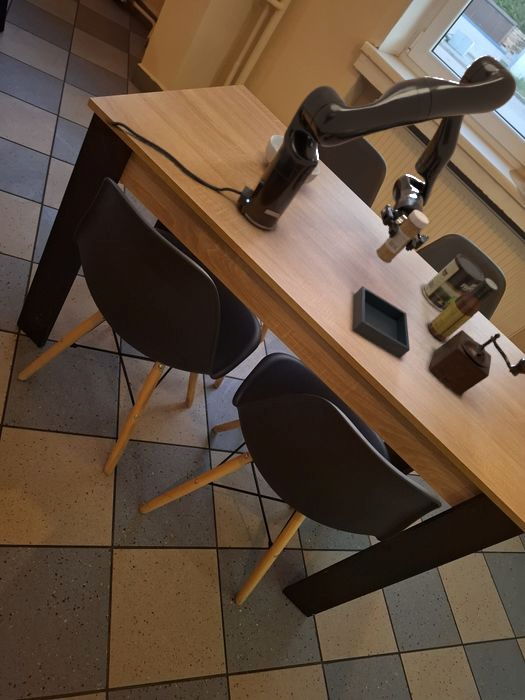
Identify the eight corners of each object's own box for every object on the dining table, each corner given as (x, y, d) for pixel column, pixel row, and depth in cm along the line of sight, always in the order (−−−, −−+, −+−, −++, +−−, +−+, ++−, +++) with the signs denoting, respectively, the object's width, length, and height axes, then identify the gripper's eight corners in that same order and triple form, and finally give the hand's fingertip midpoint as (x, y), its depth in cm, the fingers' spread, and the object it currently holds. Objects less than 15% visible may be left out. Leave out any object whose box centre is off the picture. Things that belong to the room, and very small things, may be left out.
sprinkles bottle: (392, 263, 122) (432, 223, 113) (382, 264, 118) (423, 222, 110) (382, 250, 123) (421, 209, 114) (372, 249, 120) (411, 208, 111)
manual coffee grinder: (427, 371, 122) (485, 326, 110) (434, 349, 130) (489, 306, 119) (474, 412, 122) (537, 373, 110) (478, 388, 130) (537, 349, 119)
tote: (352, 330, 115) (362, 321, 113) (353, 294, 125) (362, 285, 123) (399, 358, 119) (409, 350, 116) (397, 321, 129) (406, 313, 126)
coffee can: (453, 313, 150) (490, 282, 141) (433, 311, 144) (471, 279, 135) (435, 287, 155) (470, 255, 146) (416, 284, 149) (451, 251, 139)
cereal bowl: (314, 187, 152) (328, 168, 147) (292, 199, 139) (306, 179, 135) (274, 150, 153) (286, 130, 148) (248, 158, 140) (261, 137, 135)
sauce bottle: (444, 332, 139) (502, 286, 127) (444, 345, 135) (504, 298, 122) (426, 319, 138) (482, 271, 126) (426, 331, 134) (484, 283, 121)
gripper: (395, 184, 124) (388, 210, 111) (439, 219, 126) (437, 248, 113) (376, 207, 129) (367, 234, 116) (418, 240, 130) (413, 270, 117)
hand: (401, 241), depth 114 cm, fingers closed on sprinkles bottle, 4 cm apart
